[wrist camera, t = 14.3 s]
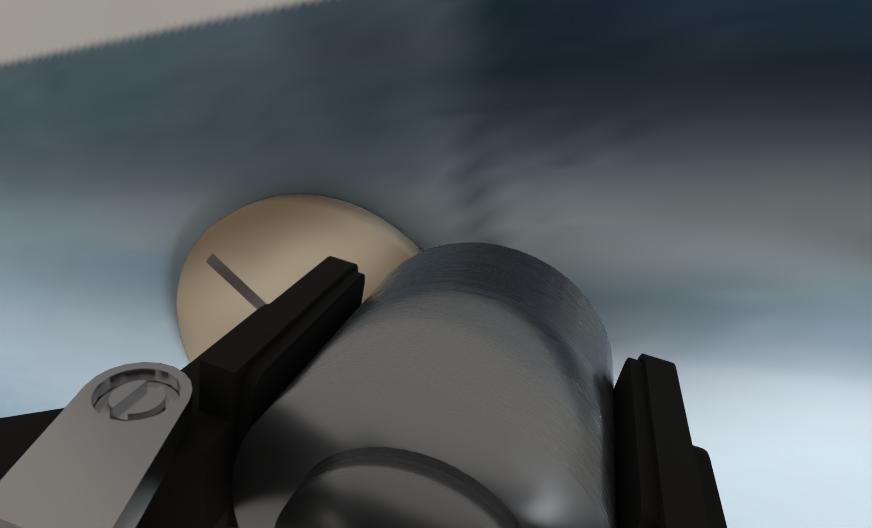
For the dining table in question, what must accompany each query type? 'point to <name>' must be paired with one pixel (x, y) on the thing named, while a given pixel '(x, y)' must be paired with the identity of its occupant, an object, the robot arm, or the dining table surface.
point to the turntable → (276, 259)
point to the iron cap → (445, 407)
